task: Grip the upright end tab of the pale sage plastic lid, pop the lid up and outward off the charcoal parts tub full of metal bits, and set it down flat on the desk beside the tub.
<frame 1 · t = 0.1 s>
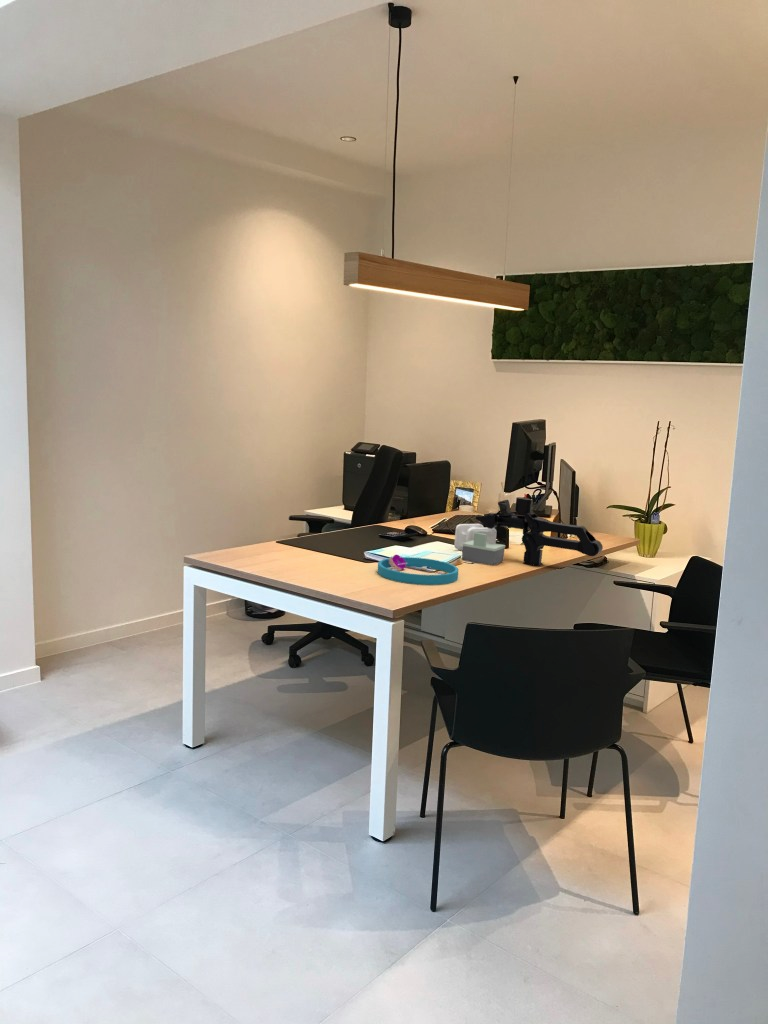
hand: (479, 516, 352), 17 cm above the table, tool horizontal, fingers open, 9 cm apart
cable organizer: (474, 552, 360), on the table
parts tub: (482, 560, 342), on the table
teal ring: (417, 576, 307), on the table
lid: (483, 548, 341), point 5 cm above the table, touching parts tub
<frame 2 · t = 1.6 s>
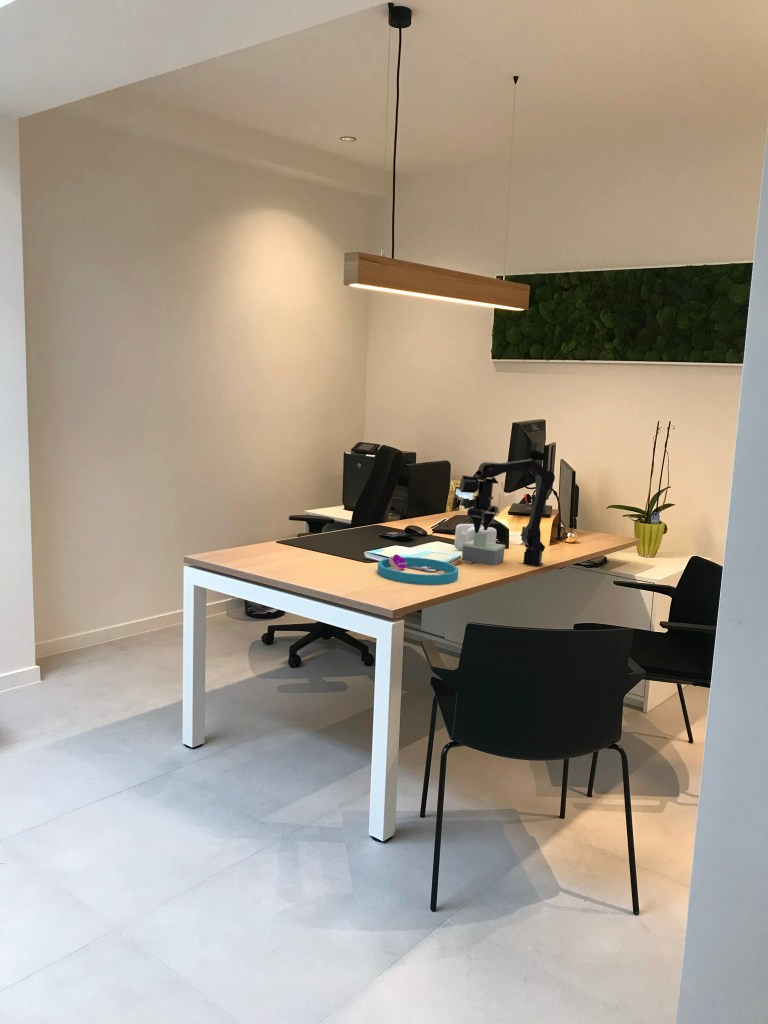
hand: (480, 531, 336), 13 cm above the table, tool pointing down, fingers open, 9 cm apart
nothing on the table moved.
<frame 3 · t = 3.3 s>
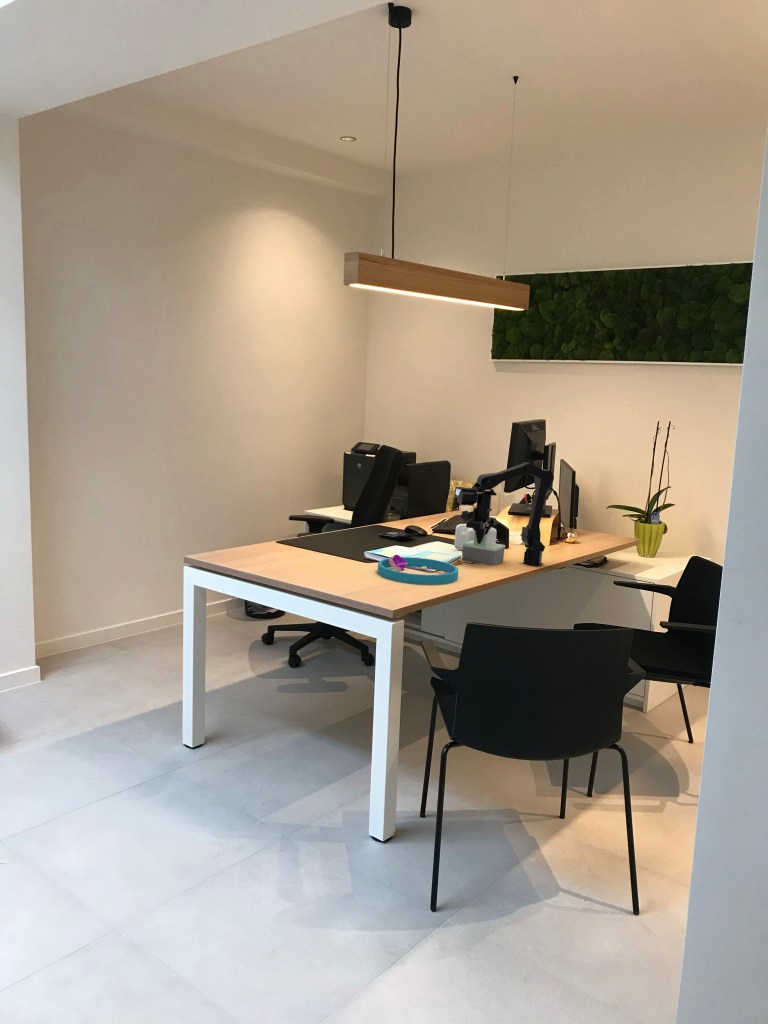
hand: (479, 543, 336), 8 cm above the table, tool pointing down, fingers closed on lid
lid: (483, 548, 341), point 5 cm above the table, touching gripper, parts tub
everything else where it was.
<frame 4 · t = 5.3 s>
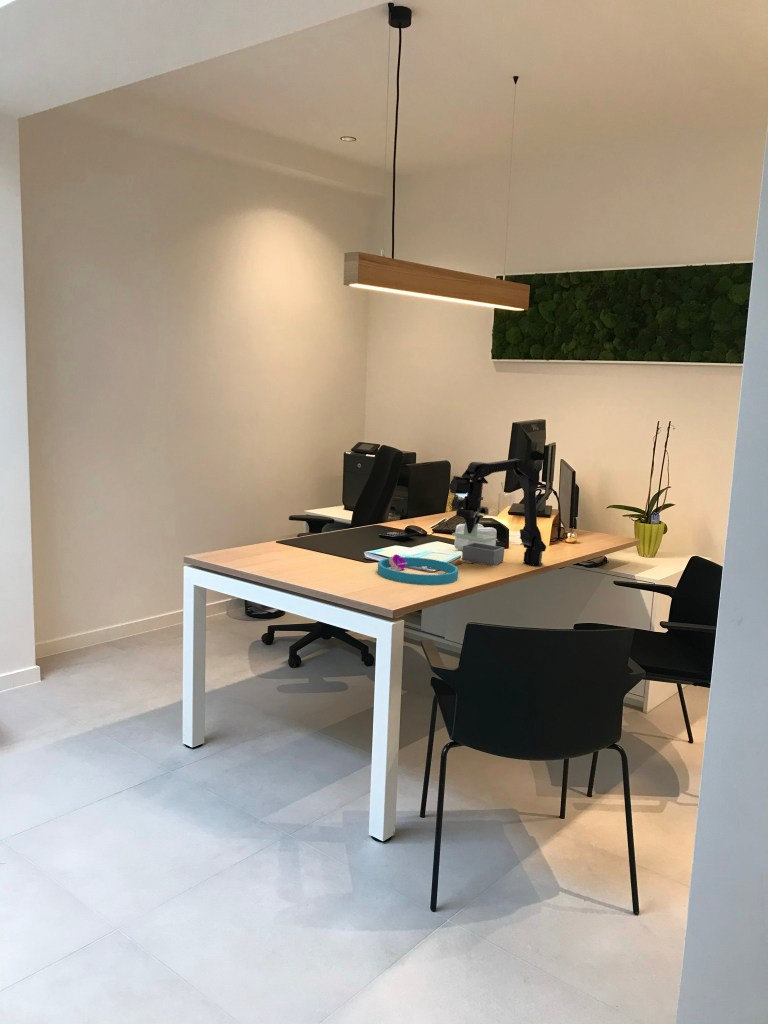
hand: (470, 533, 327), 14 cm above the table, tool pointing down, fingers closed on lid
lid: (474, 539, 331), point 10 cm above the table, touching gripper
everything else where it was.
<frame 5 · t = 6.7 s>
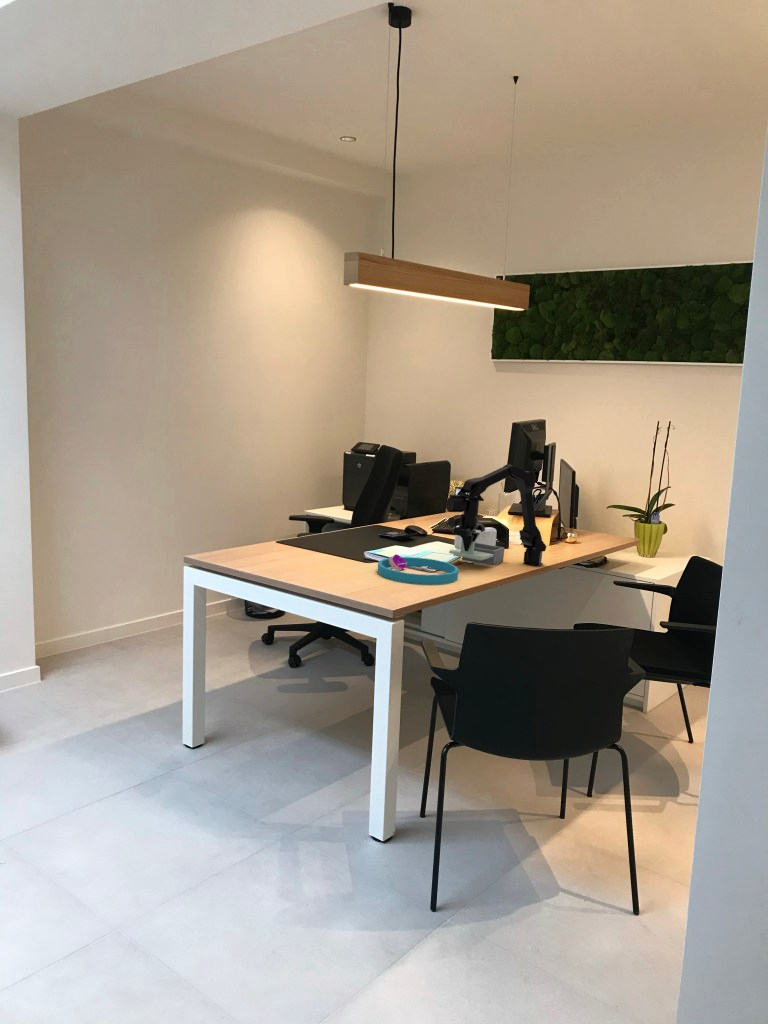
hand: (467, 550, 326), 7 cm above the table, tool pointing down, fingers closed on lid
lid: (471, 556, 330), point 4 cm above the table, touching gripper
everything else where it was.
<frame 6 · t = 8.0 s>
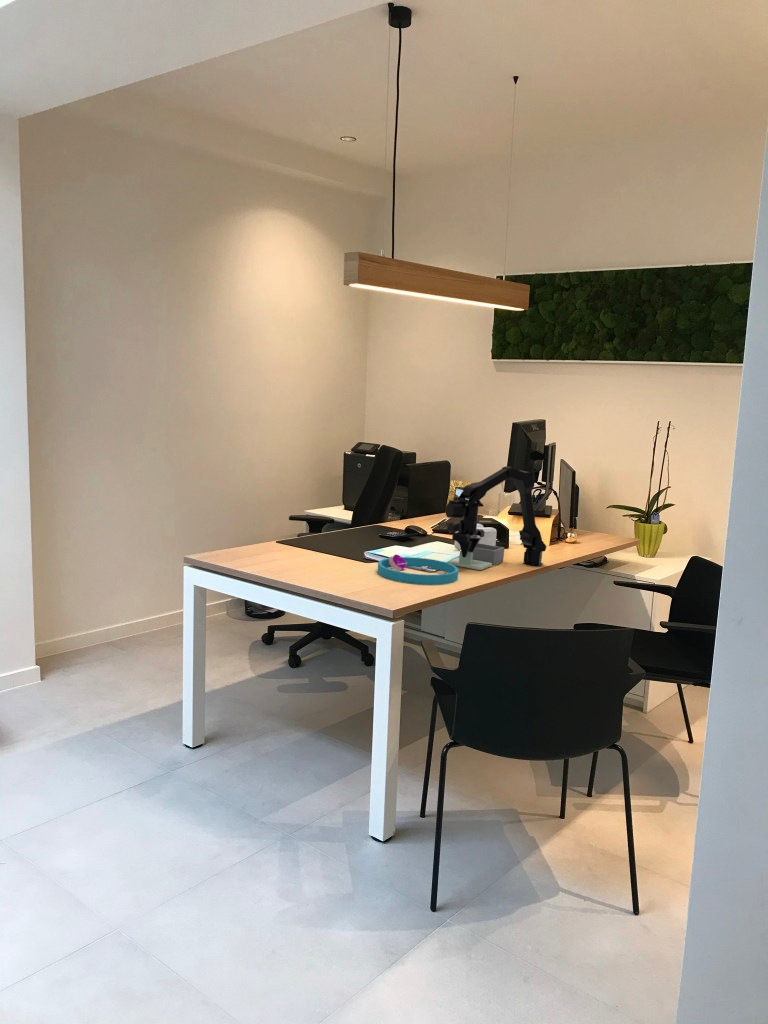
hand: (466, 556, 326), 4 cm above the table, tool pointing down, fingers open, 5 cm apart
lid: (469, 566, 330), on the table
everything else where it was.
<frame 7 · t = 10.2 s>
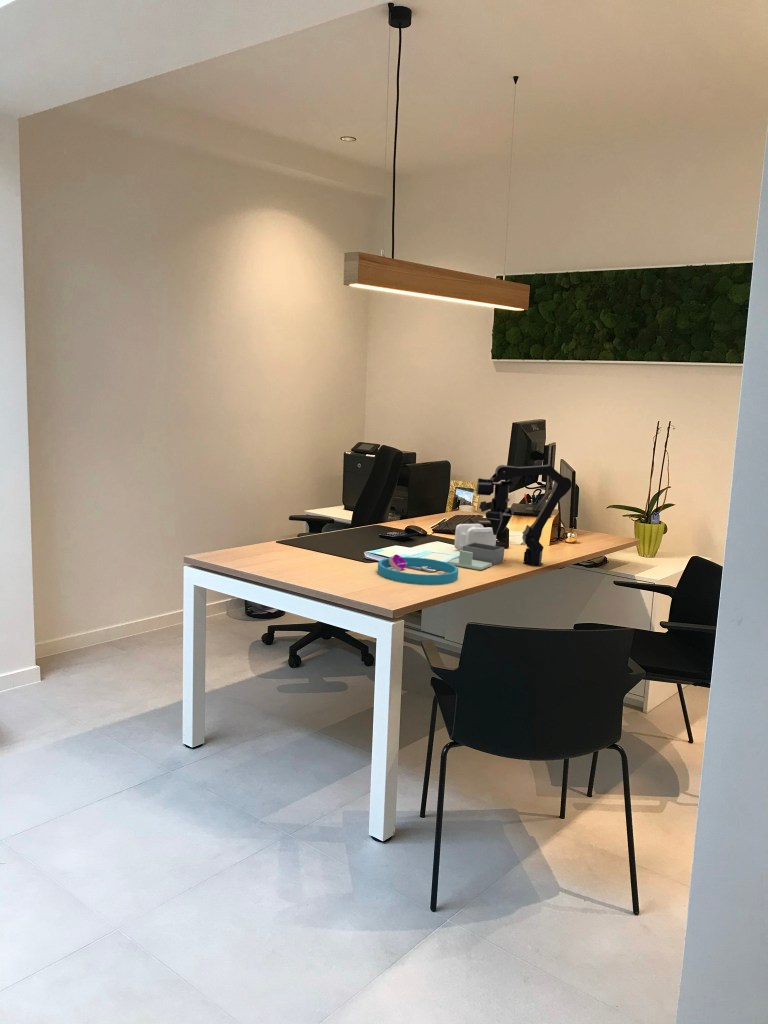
hand: (498, 533, 341), 12 cm above the table, tool pointing down, fingers open, 9 cm apart
nothing on the table moved.
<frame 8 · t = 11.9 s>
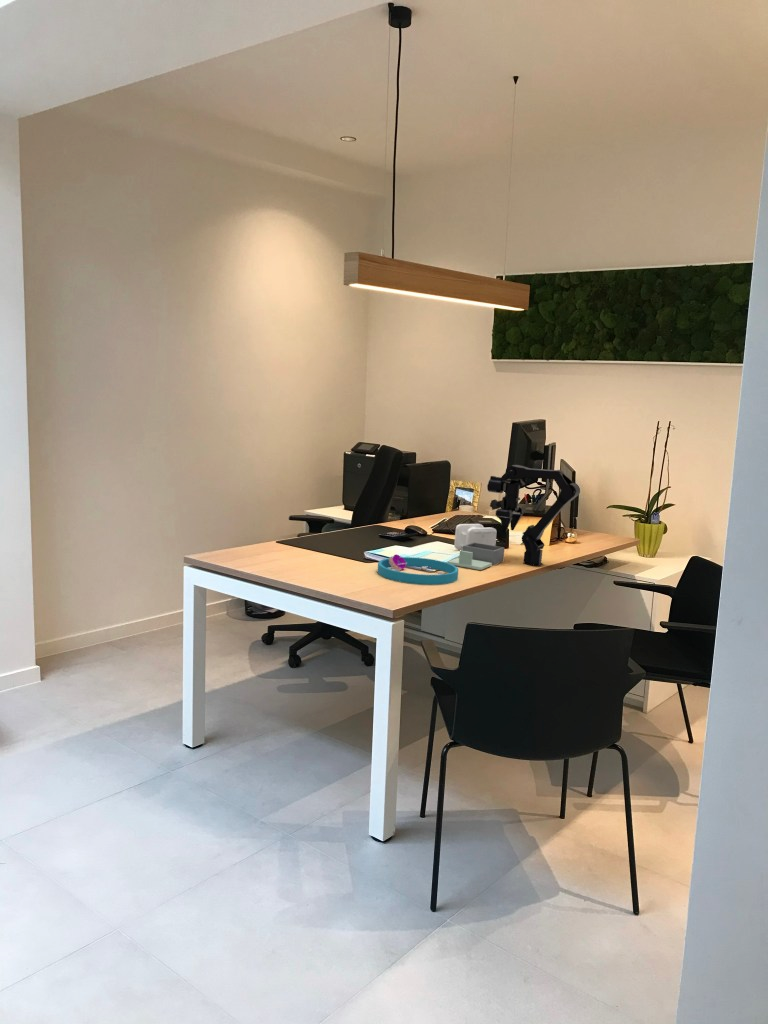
hand: (508, 531, 347), 12 cm above the table, tool pointing down, fingers open, 9 cm apart
nothing on the table moved.
at the end: lid inside the target area (0.1 cm from its centre), on the table; lid tilted 0°; the gripper is holding nothing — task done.
